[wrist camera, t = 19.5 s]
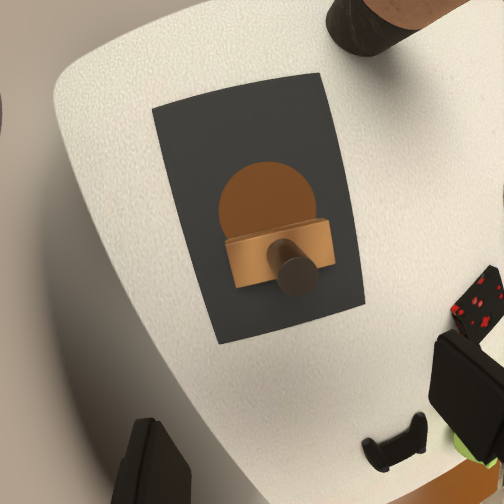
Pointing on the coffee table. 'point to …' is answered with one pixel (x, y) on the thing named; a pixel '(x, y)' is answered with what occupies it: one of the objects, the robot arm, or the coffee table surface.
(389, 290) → the coffee table surface
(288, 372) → the coffee table surface
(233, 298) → the scrub mat
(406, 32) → the travel mug
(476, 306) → the handheld gaming console
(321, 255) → the scrub brush
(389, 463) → the gaming controller
